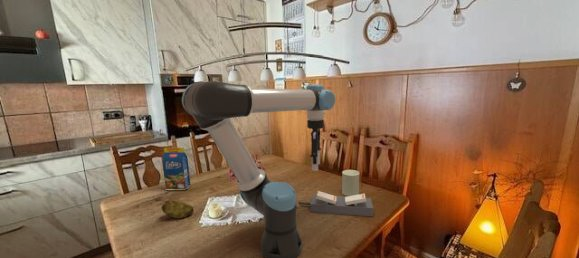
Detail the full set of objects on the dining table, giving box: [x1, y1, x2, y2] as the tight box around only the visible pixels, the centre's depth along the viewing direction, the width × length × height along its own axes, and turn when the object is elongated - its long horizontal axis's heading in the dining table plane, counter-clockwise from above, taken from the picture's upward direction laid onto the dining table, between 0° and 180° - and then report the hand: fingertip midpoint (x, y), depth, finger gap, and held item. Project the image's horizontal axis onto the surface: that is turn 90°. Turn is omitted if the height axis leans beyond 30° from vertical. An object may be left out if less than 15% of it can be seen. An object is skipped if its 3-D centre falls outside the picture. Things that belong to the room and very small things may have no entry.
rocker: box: [316, 190, 338, 204], centre depth 116 cm, size 9×5×2 cm, turn 79°
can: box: [341, 169, 360, 197], centre depth 134 cm, size 9×9×12 cm
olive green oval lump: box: [161, 199, 194, 219], centre depth 115 cm, size 8×13×8 cm, turn 81°
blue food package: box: [162, 147, 191, 190], centre depth 145 cm, size 6×12×25 cm, turn 86°
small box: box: [344, 193, 367, 205], centre depth 113 cm, size 9×5×2 cm, turn 78°
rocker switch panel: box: [298, 194, 374, 217], centre depth 118 cm, size 34×10×5 cm, turn 79°
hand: (316, 167), depth 116 cm, fingers open, 9 cm apart
